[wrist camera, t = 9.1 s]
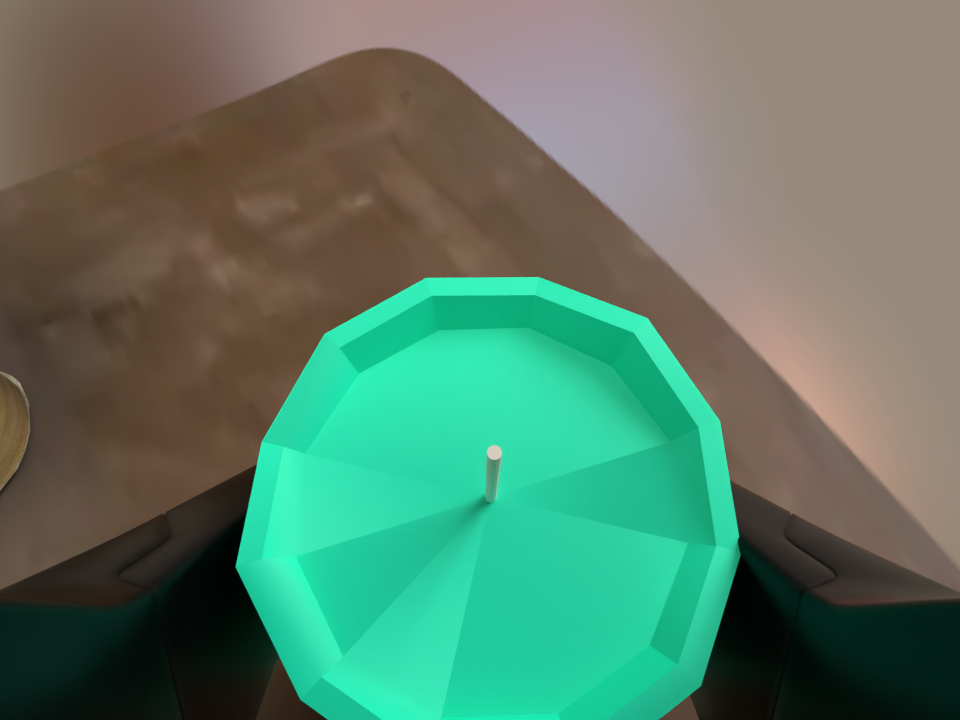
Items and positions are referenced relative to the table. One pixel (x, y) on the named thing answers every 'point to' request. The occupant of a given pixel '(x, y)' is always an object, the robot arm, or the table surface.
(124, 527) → the table surface
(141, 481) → the table surface
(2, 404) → the figurine
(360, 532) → the candle
